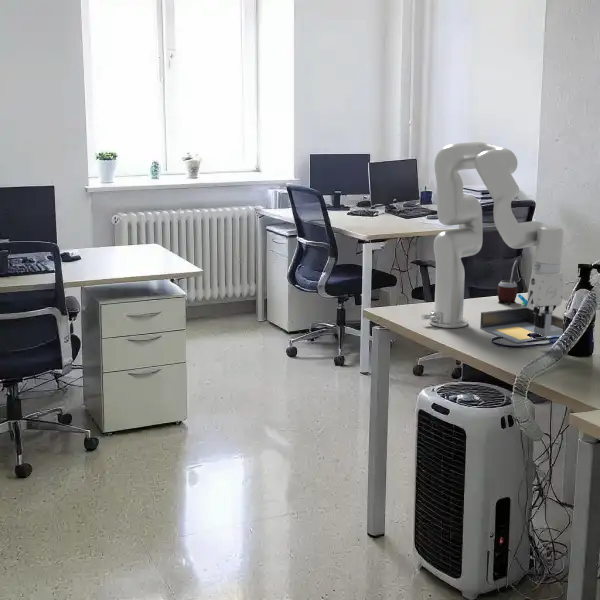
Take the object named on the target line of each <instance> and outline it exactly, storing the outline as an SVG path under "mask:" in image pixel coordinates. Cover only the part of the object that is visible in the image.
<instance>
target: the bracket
mask: <svg viewBox="0 0 600 600" xmlns="http://www.w3.org/2000/svg"><path fill="white" fill-rule="evenodd" d="M542 315H543V316H544V320H543V328H541V329H540V328H538V327H536V326H535V325H534V333H537V334H539V335H541V336H544V337H547V336H554V335H561V334H562V333H563V329H561V328H558V327H556V326H553V325H551V316H552V315H553V313H552V314H551V313H549V312H546V311H544V310H543V314H542Z"/></svg>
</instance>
